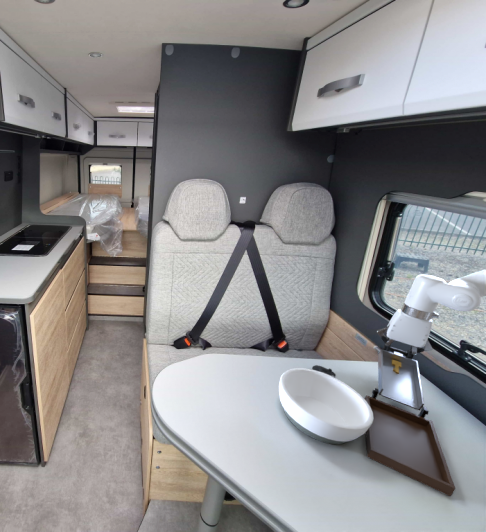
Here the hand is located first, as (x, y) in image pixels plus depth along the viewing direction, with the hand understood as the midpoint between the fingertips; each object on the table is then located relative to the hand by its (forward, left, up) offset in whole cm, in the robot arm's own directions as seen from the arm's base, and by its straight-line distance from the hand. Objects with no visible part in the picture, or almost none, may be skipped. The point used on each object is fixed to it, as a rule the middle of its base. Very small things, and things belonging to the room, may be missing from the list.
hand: (395, 357), depth 107 cm
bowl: (+29, +33, -8) cm, 45 cm away
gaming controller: (+24, +13, -8) cm, 28 cm away
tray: (+9, +33, -8) cm, 35 cm away
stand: (+6, +20, -8) cm, 23 cm away
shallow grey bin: (+3, +9, -2) cm, 10 cm away
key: (+1, +5, -1) cm, 6 cm away
